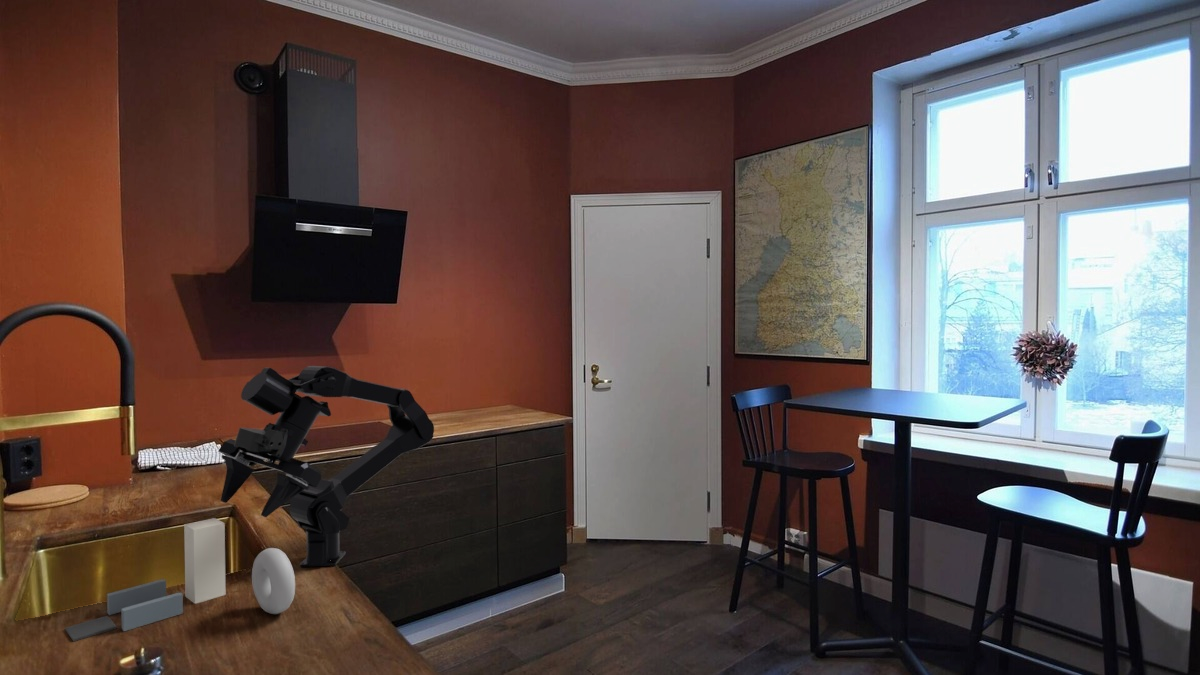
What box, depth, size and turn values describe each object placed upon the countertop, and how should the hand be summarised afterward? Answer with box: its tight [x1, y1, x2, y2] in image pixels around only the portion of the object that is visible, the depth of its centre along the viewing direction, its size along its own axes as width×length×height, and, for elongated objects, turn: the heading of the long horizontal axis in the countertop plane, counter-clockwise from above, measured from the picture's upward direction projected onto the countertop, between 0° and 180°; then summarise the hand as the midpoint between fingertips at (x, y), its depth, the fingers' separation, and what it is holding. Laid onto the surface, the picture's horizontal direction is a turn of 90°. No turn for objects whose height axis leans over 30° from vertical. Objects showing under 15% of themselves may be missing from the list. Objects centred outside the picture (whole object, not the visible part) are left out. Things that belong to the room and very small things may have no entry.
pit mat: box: [64, 615, 118, 642], centre depth 92 cm, size 5×6×1 cm
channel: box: [106, 578, 184, 632], centre depth 97 cm, size 8×9×3 cm
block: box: [183, 517, 227, 604], centre depth 104 cm, size 4×4×12 cm
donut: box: [251, 547, 296, 615], centre depth 97 cm, size 10×4×10 cm, turn 51°
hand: (243, 509), depth 107 cm, fingers open, 9 cm apart
